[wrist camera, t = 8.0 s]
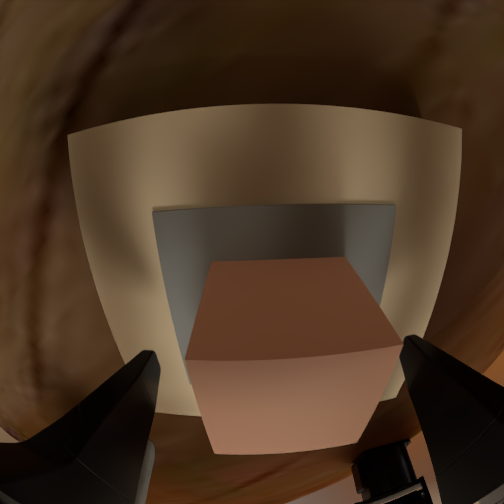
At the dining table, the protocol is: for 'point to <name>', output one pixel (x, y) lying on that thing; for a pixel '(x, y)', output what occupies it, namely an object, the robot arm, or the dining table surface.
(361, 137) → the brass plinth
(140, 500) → the hip flask
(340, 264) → the terracotta cube
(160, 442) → the dining table surface
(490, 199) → the dining table surface
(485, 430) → the robot arm
